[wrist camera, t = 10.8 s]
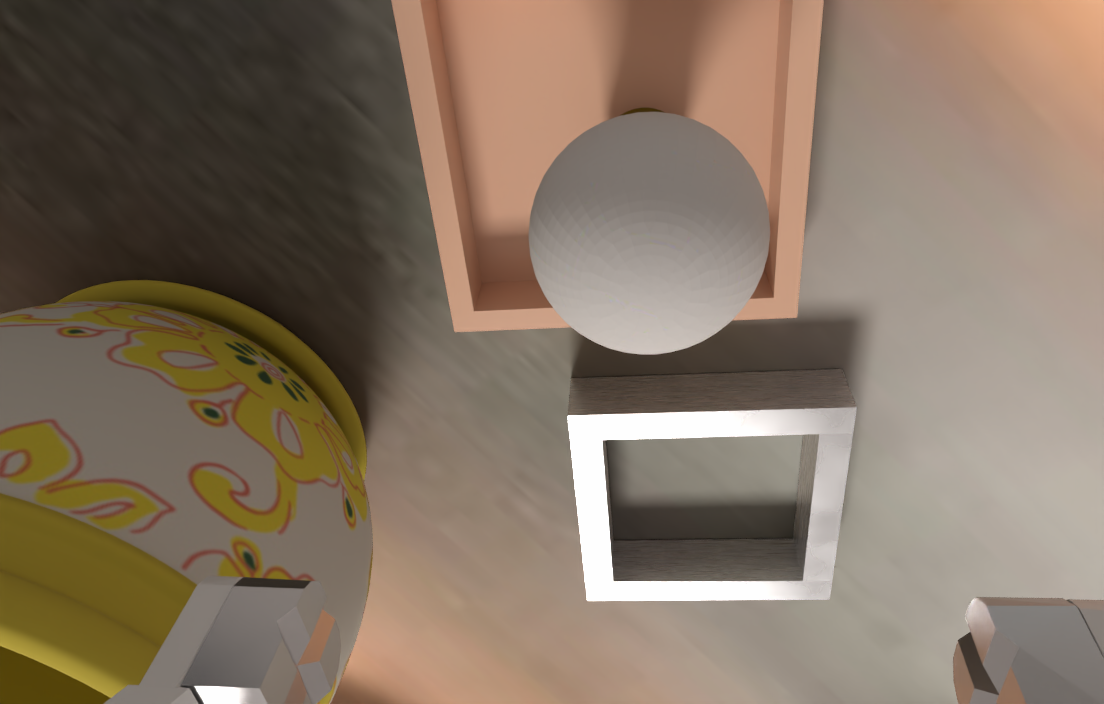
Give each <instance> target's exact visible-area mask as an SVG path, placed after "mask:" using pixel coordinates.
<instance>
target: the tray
mask: <svg viewBox="0 0 1104 704" xmlns="http://www.w3.org/2000/svg"><path fill="white" fill-rule="evenodd" d="M391 1H392V6H393V12H394V17H395V22H396V27H397V33H398V38H399V43H400V48H401V53H402V59H403V64H404V69H405V74H406V80H407V85H408V90H409V95H410V101H411V106H412V111H413V116H414V122H415V127H416V132H417V137H418V143H419V148H420V153H421V158H422V163H423V169H424V174H425V179H426V184H427V190H428V195H429V200H430V205H431V211H432V216H433V221H434V226H435V232H436V237H437V242H438V247H439V253H440V258H441V263H442V268H443V274H444V279H445V284H446V289H447V294H448V300H449V305H450V310H451V315H452V321H453V326H454V331H455V332H469V331H493V330H517V329H540V328H564V327H571V326H570V325H568V324H567V323H566V322H565V321H564V320H563V319H562V318H561V316H560V315H559V314H558V313H557V312H556V311H555V310H554V309H553V307H552V306H551V304H550V303H549V301H548V300H547V298H546V297H545V295H544V293H543V291H542V289H541V287H540V285H539V283H538V280H537V278H536V276H535V272H534V268H533V265H532V261H531V256H530V247H529V223H530V214H531V210H532V206H533V202H534V198H535V195H536V192H537V190H538V188H539V185H540V183H541V181H542V179H543V177H544V175H545V173H546V172H547V170H548V169H549V167H550V166H551V164H552V163H553V161H554V160H555V158H556V157H557V156H558V155H559V154H560V153H561V152H562V151H563V150H564V149H565V148H566V147H567V145H568V144H569V143H571V142H572V141H573V140H574V139H576V138H577V137H578V136H580V135H581V134H582V133H583V132H585V131H587V130H589V129H590V128H592V127H594V126H596V125H598V124H600V123H601V122H604V121H607V120H610V119H612V118H615V117H618V116H620V115H621V114H623V113H625V112H627V111H630V110H632V109H636V108H655V109H658V110H661V111H663V112H665V113H671V114H677V115H680V116H684V117H687V118H691V119H694V120H696V121H698V122H700V123H702V124H705V125H707V126H709V127H711V128H712V129H714V130H715V131H717V132H718V133H719V134H721V135H722V136H724V137H725V138H727V139H728V140H729V141H730V142H731V143H732V144H733V145H734V146H735V147H736V148H737V149H738V150H739V151H740V152H741V153H742V154H743V156H744V157H745V159H746V160H747V161H748V163H749V164H750V166H751V167H752V168H753V170H754V172H755V174H756V176H757V178H758V180H759V182H760V185H761V187H762V189H763V192H764V196H765V199H766V203H767V207H768V211H769V223H770V240H769V250H768V256H767V260H766V263H765V267H764V271H763V274H762V276H761V278H760V280H759V283H758V285H757V287H756V289H755V291H754V293H753V294H752V296H751V297H750V299H749V300H748V302H747V303H746V305H745V306H744V308H743V309H742V310H741V311H740V312H739V313H738V314H737V315H736V316H735V318H734V319H733V320H753V319H777V318H797V312H798V300H799V288H800V276H801V264H802V252H803V240H804V228H805V217H806V205H807V193H808V181H809V169H810V157H811V145H812V133H813V121H814V110H815V98H816V86H817V74H818V62H819V50H820V38H821V26H822V15H823V3H824V0H391Z"/></svg>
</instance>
